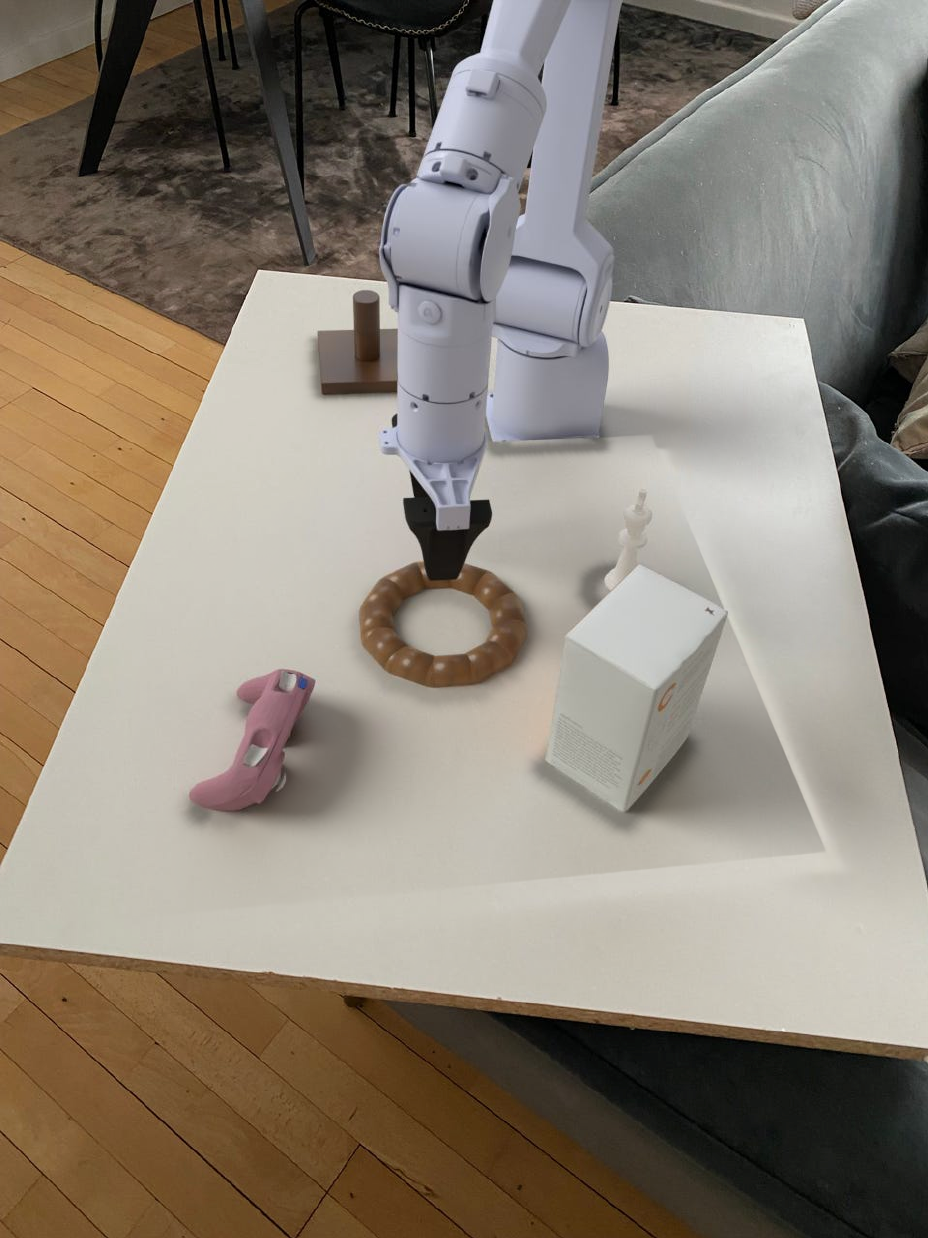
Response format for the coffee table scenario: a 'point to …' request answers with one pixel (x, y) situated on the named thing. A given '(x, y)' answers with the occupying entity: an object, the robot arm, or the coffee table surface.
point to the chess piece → (630, 539)
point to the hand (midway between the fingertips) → (436, 539)
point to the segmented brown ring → (442, 668)
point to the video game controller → (259, 742)
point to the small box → (631, 684)
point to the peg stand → (359, 352)
